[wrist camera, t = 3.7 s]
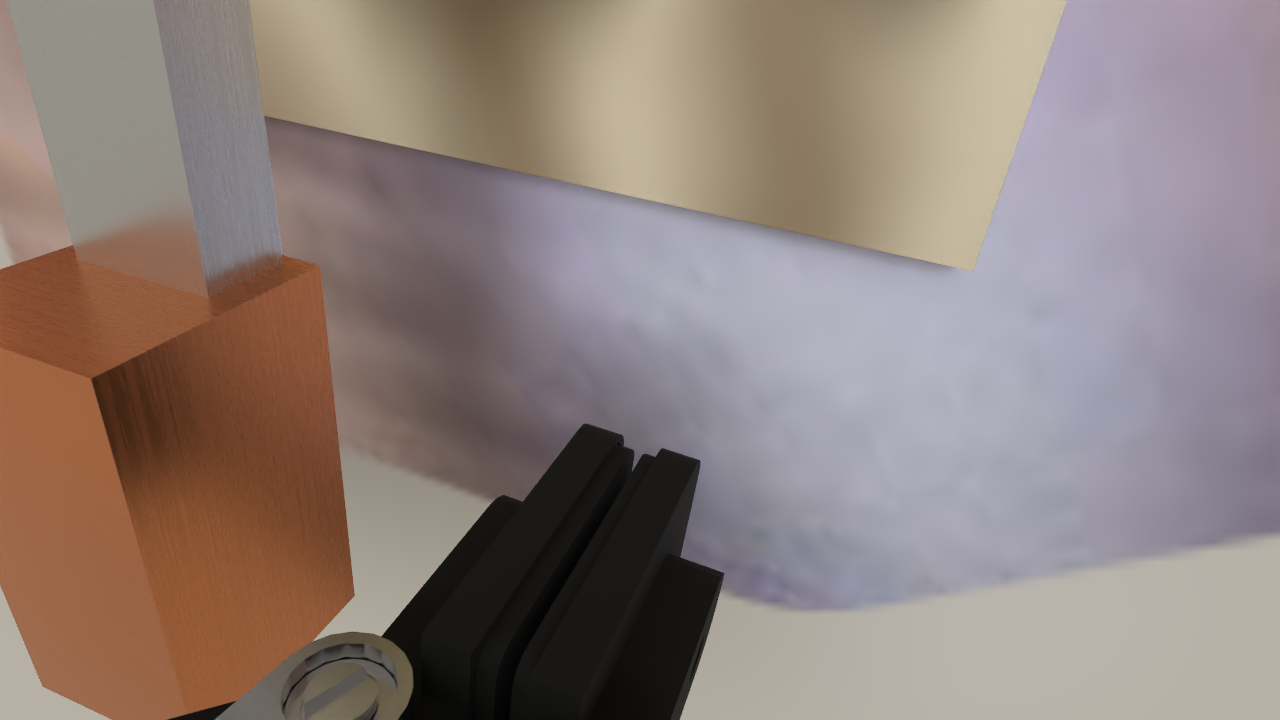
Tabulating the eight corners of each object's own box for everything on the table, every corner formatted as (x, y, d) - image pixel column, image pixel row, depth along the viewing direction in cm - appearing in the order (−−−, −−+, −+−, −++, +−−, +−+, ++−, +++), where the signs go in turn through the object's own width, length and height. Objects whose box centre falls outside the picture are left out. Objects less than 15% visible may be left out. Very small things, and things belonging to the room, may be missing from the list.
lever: (-79, -762, 7) (-794, -1259, 4) (230, -803, 6) (-401, -1465, 3) (210, 539, 14) (31, 682, 11) (364, 599, 13) (212, 767, 10)
